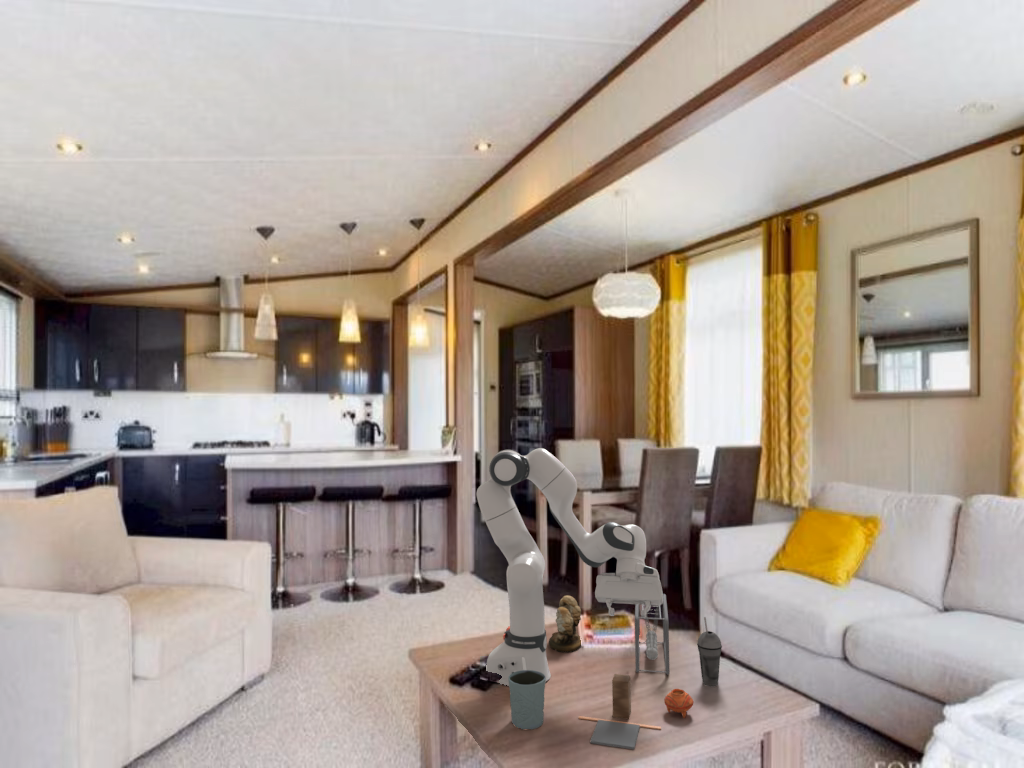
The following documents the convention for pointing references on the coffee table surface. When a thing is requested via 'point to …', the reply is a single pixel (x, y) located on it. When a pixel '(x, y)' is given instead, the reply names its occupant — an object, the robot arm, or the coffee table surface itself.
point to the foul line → (620, 722)
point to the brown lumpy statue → (566, 626)
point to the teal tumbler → (527, 698)
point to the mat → (615, 734)
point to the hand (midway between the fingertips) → (627, 616)
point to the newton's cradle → (652, 637)
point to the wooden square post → (621, 696)
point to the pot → (678, 701)
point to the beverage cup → (709, 656)
